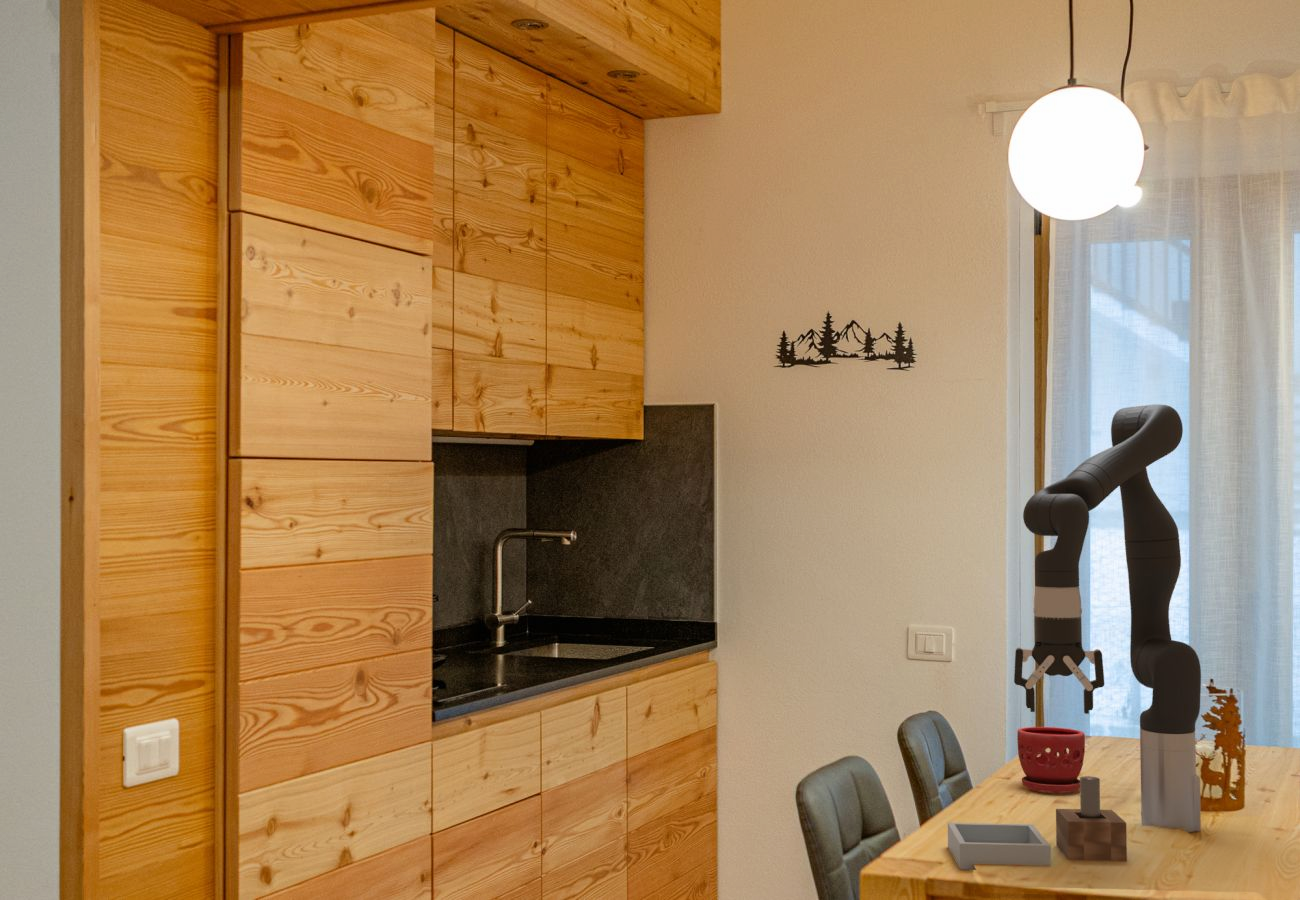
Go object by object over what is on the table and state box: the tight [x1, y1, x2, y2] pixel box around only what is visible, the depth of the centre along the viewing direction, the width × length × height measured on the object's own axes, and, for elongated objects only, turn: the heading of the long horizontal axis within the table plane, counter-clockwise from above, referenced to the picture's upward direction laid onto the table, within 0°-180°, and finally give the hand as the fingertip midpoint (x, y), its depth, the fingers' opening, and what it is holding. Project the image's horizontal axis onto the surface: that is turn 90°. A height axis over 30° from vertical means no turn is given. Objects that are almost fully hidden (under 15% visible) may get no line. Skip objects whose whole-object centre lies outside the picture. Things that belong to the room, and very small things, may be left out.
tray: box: [947, 822, 1052, 871], centre depth 215 cm, size 14×14×4 cm
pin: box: [1079, 775, 1101, 819], centre depth 215 cm, size 3×3×12 cm
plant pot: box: [1016, 726, 1086, 795], centre depth 269 cm, size 13×13×12 cm
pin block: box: [1055, 808, 1128, 862], centre depth 215 cm, size 9×9×7 cm
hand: (1059, 712), depth 220 cm, fingers open, 8 cm apart
